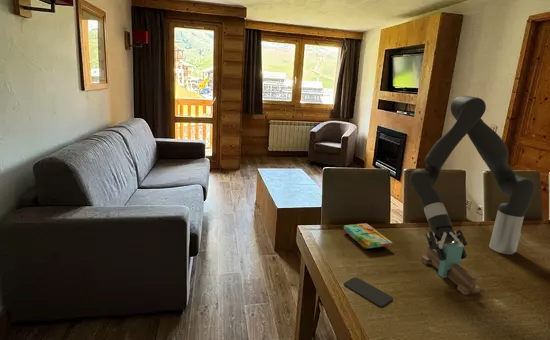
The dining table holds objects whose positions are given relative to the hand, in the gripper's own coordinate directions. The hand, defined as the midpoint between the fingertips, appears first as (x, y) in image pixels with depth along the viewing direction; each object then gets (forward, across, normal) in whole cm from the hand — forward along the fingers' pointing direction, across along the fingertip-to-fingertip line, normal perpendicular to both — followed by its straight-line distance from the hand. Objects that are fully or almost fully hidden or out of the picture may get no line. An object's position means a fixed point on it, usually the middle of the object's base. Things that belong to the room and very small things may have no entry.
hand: (454, 259), depth 117 cm
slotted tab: (+4, 0, +6) cm, 7 cm away
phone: (+8, -35, +4) cm, 36 cm away
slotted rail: (+4, 0, +6) cm, 8 cm away
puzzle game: (-16, -17, +28) cm, 36 cm away
